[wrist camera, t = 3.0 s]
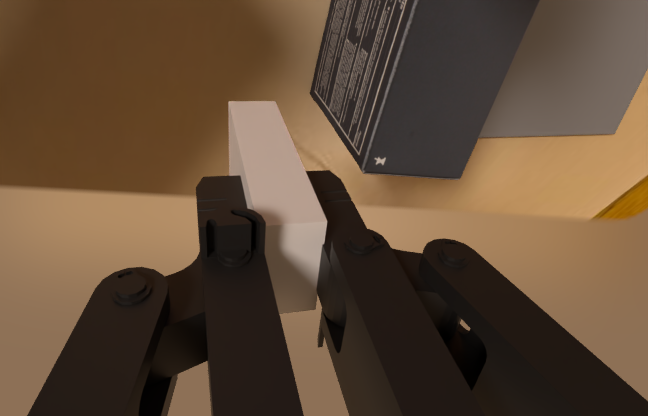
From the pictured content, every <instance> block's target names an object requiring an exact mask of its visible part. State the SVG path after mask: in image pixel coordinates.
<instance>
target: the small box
mask: <svg viewBox="0 0 648 416" xmlns="http://www.w3.org/2000/svg"><path fill="white" fill-rule="evenodd" d="M539 2H540V0H331V4H330V8H329V13H328V17H327V21H326V26H325V30H324V33H323V38H322V42H321V47H320V51H319V55H318V60H317V64H316V68H315V73H314V78H313V82H312V87H311V91H310V95H311V96H312V98H313V100H314V101H316V103H317V104H318V105H319V107H320V108H321V110H322V111H323V112H324V114H325V116H326V117H327V119H328V120H329V122H330V123H331V125H332V126H333V127H334V129H335V131H336V133H337V134H338V136H339V137H340V138H341V140H342V142H343V143H344V145H345V146H346V147H347V149H348V151H349V152H350V153H351V155H352V156H353V158H354V159H355V161H356V162H357V164H358V165H359V168H360V170H361V171H362V172H363V174H376V175H392V176H406V177H418V178H420V177H421V178H435V179H450V180H458V179H460V178H461V176H462V173H463V171H464V169H465V167H466V164H467V162H468V160H469V158H470V156H471V153H472V151H473V149H474V147H475V144H476V142H477V140H478V137H479V135H480V133H481V131H482V128H483V126H484V124H485V122H486V119H487V117H488V115H489V113H490V110H491V108H492V106H493V104H494V101H495V99H496V97H497V95H498V93H499V90H500V88H501V86H502V84H503V81H504V79H505V77H506V75H507V72H508V70H509V68H510V66H511V64H512V61H513V59H514V57H515V55H516V52H517V50H518V48H519V46H520V43H521V41H522V39H523V37H524V35H525V32H526V30H527V28H528V26H529V24H530V21H531V19H532V17H533V15H534V13H535V10H536V8H537V6H538V4H539Z"/></svg>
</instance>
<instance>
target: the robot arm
mask: <svg viewBox="0 0 648 416" xmlns="http://www.w3.org/2000/svg"><path fill="white" fill-rule="evenodd" d="M228 112H229V176H213V177H203V178H202V179H201V181H200V182H199V184H198V185H197V187H196V196H197V213H198V228H199V243H200V252H199V255H198V257H197V259H196V260H195V261H194V262H193V263H192V264H191V265H190V266H188V267H186V268H185V269H184V270H181V271H179V272H176V273H174V274H171V275H168V276H165V277H164V276H163V275H162V274H160V273H159V272H157V271H156V270H154V269H149V268H144V267H136V268H127V269H123V270H120V271H117V272H114V273H113V274H111V275H109V276H108V277H106V278H105V279H103V280H102V281H101V283H100V284H99V285H98V286H97V287H96V289H95V291H94V292H93V294H92V296H91V298H90V300H89V302H88V304H87V305H86V307H85V309H84V311H83V313H82V315H81V317H80V318H79V320H78V322H77V324H76V326H75V328H74V329H73V331H72V333H71V335H70V337H69V339H68V341H67V343H66V344H65V347H64V348H63V350H62V352H61V354H60V356H59V357H58V359H57V361H56V363H55V365H54V367H53V369H52V371H51V372H50V374H49V376H48V378H47V380H46V382H45V384H44V386H43V387H42V390H41V391H40V393H39V395H38V397H37V399H36V400H35V402H34V404H33V406H32V408H31V410H30V412H29V414H28V415H27V416H167V414H168V410H169V407H170V403H171V399H172V396H173V392H174V389H175V385H176V381H177V375H178V374H179V373H181V372H183V371H185V370H188V369H190V368H192V367H194V366H197V365H199V364H201V363H203V362H206V361H208V372H209V373H208V374H209V387H210V401H211V414H212V416H304V415H303V411H302V407H301V402H300V399H299V394H298V390H297V386H296V382H295V377H294V373H293V369H292V365H291V361H290V357H289V353H288V349H287V344H286V340H285V336H284V332H283V328H282V323H281V319H280V315H279V314H283V313H291V312H299V311H307V310H315V309H316V301H317V294H318V296H319V300H320V302H321V305H322V313H321V320H320V327H319V334H318V347H322V346H323V340H324V337H325V340H326V343H327V347H328V350H329V353H330V356H331V359H332V362H333V366H334V368H335V372H336V375H337V378H338V381H339V384H340V388H341V391H342V394H343V397H344V400H345V403H346V406H347V410H348V413H349V416H648V401H647V400H646V399H644V398H643V397H642V396H641V395H640V394H639V393H638V392H636V391H635V390H634V389H633V388H632V387H631V386H630V385H628V384H627V383H626V382H625V381H624V380H622V379H621V378H620V377H619V376H618V375H617V374H616V373H615V372H613V371H612V370H611V369H610V368H609V367H608V366H607V365H605V364H604V363H603V362H602V361H601V360H600V359H598V358H597V357H596V356H595V355H594V354H593V353H592V352H590V351H589V350H588V349H587V348H586V347H585V346H584V345H582V344H581V343H580V342H579V341H578V340H577V339H575V338H574V337H573V336H572V335H571V334H570V333H569V332H567V331H566V330H565V329H564V328H563V327H562V326H560V325H559V324H558V323H557V322H556V321H555V320H554V319H552V318H551V317H550V316H549V315H548V314H547V313H546V312H544V311H543V310H542V309H541V308H540V307H539V306H538V305H537V304H535V303H534V302H533V301H532V300H531V299H529V297H527V296H526V295H525V294H524V293H523V292H522V291H520V290H519V289H518V288H517V287H516V286H515V285H514V284H512V283H511V282H510V281H509V280H508V279H507V278H506V277H504V276H503V275H502V274H501V273H500V272H499V271H497V270H496V269H495V268H494V267H493V266H492V265H491V264H489V263H488V262H487V261H486V260H485V259H484V258H482V257H481V256H480V255H479V254H478V253H477V252H476V251H475V250H473V249H472V248H470V247H469V246H467V245H466V244H464V243H461V242H458V241H455V240H450V239H436V240H433V241H431V242H429V243H427V245H426V246H425V248H424V250H423V254H421V253H414V252H407V251H401V250H396V249H392V248H391V247H390V245H389V244H388V242H387V241H386V240H385V239H384V237H383V236H382V235H380V234H378V233H377V232H375V231H373V230H370V229H367V228H366V226H365V224H364V222H363V220H362V218H361V217H360V215H359V213H358V211H357V209H356V207H355V205H354V203H353V201H351V198H350V196H349V194H348V192H347V190H346V188H345V186H344V184H343V183H342V181H341V179H340V178H338V177H337V176H336V175H334V174H333V173H332V172H330V171H329V170H326V171H305V169H304V166H303V164H302V162H301V159H300V157H299V155H298V153H297V150H296V148H295V146H294V143H293V141H292V139H291V136H290V134H289V132H288V129H287V127H286V125H285V122H284V120H283V118H282V116H281V113H280V111H279V109H278V106H277V104H276V102H275V101H228ZM461 319H462V320H463V321H464V322H465V323H466V324H467V325H468V326H469V327H470V328H471V329H470V331H468V330H466V329H465V328H464V327H462V326H461V324H460V321H461Z"/></svg>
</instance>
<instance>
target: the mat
mask: <svg viewBox="0 0 648 416" xmlns="http://www.w3.org/2000/svg"><path fill="white" fill-rule="evenodd" d="M647 69H648V0H540V2H539V4H538V6H537V8H536V10H535V13H534V15H533V17H532V19H531V21H530V24H529V26H528V28H527V30H526V32H525V35H524V37H523V39H522V41H521V43H520V46H519V48H518V50H517V52H516V55H515V57H514V59H513V61H512V64H511V66H510V68H509V70H508V72H507V75H506V77H505V79H504V81H503V84H502V86H501V88H500V90H499V93H498V95H497V97H496V99H495V101H494V104H493V106H492V108H491V110H490V113H489V115H488V117H487V119H486V122H485V124H484V126H483V128H482V131H481V133H480V135H479V137H478V138H483V137H520V136H557V135H593V134H615V132H616V130H617V128H618V126H619V124H620V122H621V120H622V118H623V116H624V114H625V112H626V110H627V108H628V106H629V104H630V102H631V100H632V98H633V96H634V95H635V93H636V91H637V89H638V87H639V85H640V83H641V81H642V79H643V77H644V75H645V73H646V71H647Z"/></svg>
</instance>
